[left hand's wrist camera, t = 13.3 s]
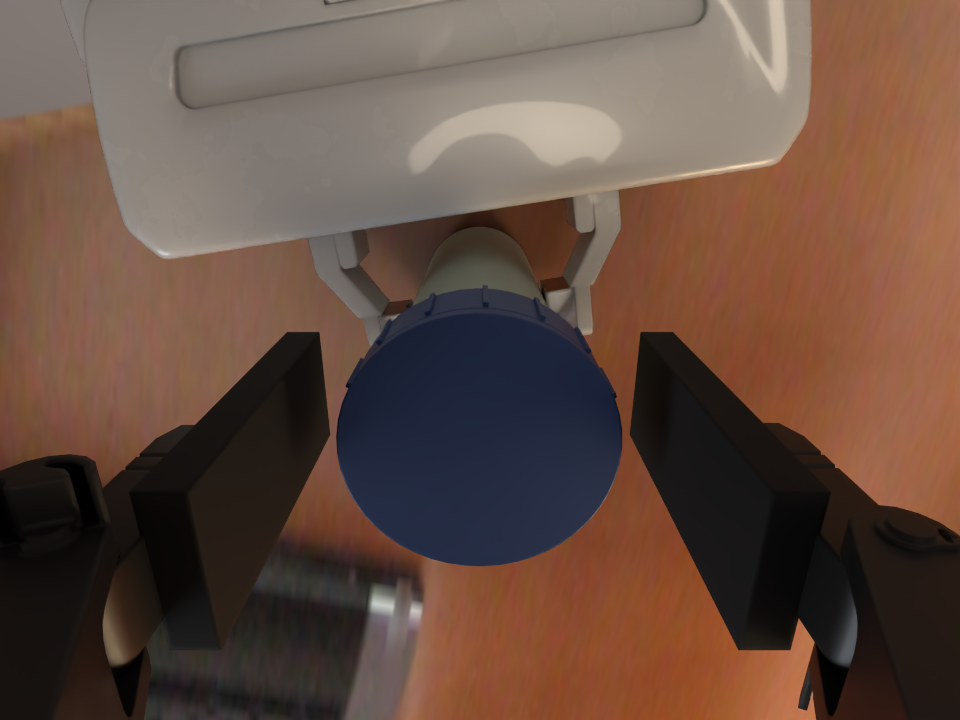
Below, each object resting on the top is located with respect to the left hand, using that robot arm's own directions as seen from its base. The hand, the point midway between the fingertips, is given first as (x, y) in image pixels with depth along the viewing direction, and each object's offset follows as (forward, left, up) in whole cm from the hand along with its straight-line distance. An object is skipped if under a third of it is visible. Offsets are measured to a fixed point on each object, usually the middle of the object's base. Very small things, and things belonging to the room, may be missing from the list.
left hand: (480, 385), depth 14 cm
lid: (0, 0, +2) cm, 2 cm away
